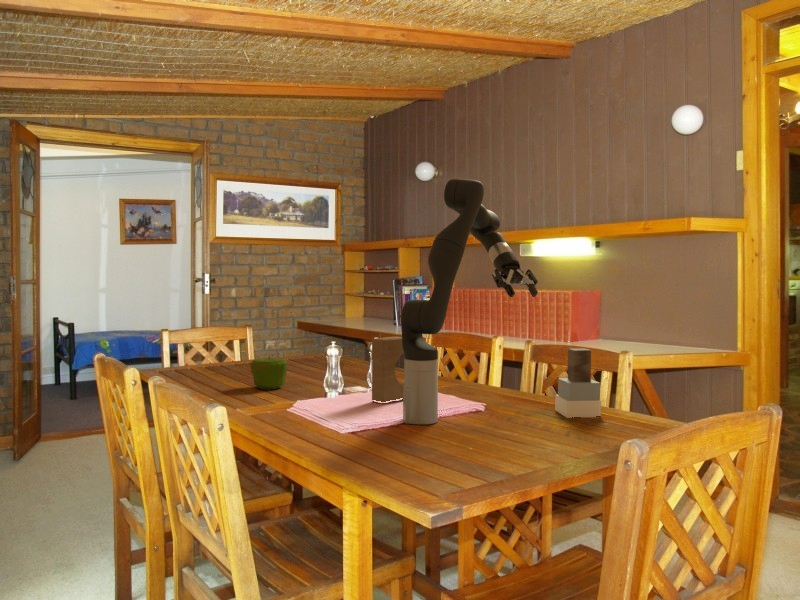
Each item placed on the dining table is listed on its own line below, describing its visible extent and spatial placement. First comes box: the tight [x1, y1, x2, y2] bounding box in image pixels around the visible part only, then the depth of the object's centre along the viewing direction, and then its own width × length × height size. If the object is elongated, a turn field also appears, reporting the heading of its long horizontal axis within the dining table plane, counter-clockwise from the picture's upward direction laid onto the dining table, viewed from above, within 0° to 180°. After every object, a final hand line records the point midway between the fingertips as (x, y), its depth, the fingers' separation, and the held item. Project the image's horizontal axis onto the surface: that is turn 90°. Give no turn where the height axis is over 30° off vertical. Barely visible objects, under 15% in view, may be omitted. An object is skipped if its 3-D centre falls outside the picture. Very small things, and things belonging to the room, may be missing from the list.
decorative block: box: [371, 335, 404, 402], centre depth 214 cm, size 11×6×20 cm, turn 135°
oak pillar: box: [567, 347, 592, 382], centre depth 195 cm, size 5×5×9 cm
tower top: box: [557, 377, 601, 401], centre depth 195 cm, size 9×9×5 cm
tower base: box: [554, 394, 602, 419], centre depth 196 cm, size 10×10×5 cm
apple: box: [250, 356, 288, 391], centre depth 237 cm, size 12×12×11 cm
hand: (524, 295), depth 211 cm, fingers open, 8 cm apart
